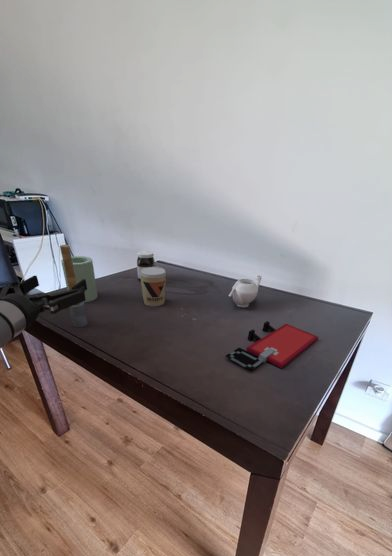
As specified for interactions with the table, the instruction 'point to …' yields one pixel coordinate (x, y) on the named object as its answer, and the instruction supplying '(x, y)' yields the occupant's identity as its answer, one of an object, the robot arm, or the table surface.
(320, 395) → the table surface
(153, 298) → the coffee cup
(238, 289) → the teapot
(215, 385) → the table surface
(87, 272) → the green cylindrical holder
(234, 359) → the red board with handle
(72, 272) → the bottle brush
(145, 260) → the spread jar
